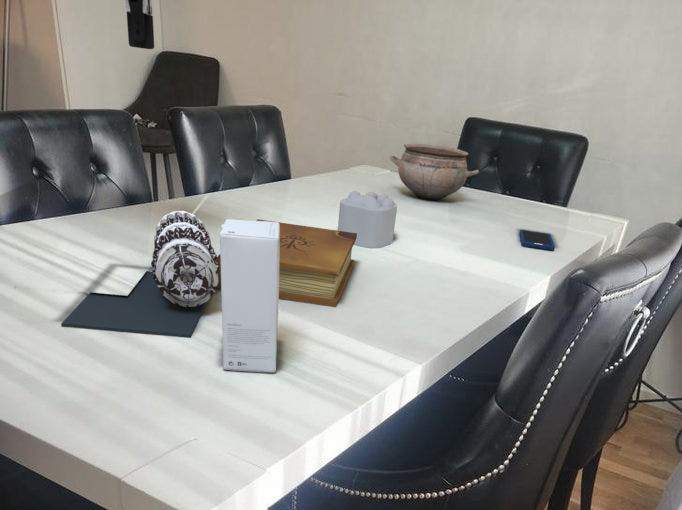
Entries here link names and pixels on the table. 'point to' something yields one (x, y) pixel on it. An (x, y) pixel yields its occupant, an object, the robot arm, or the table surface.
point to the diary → (312, 263)
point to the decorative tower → (184, 260)
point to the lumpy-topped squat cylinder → (368, 218)
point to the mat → (135, 312)
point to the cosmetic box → (250, 294)
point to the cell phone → (536, 240)
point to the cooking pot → (432, 170)
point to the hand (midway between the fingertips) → (141, 47)
